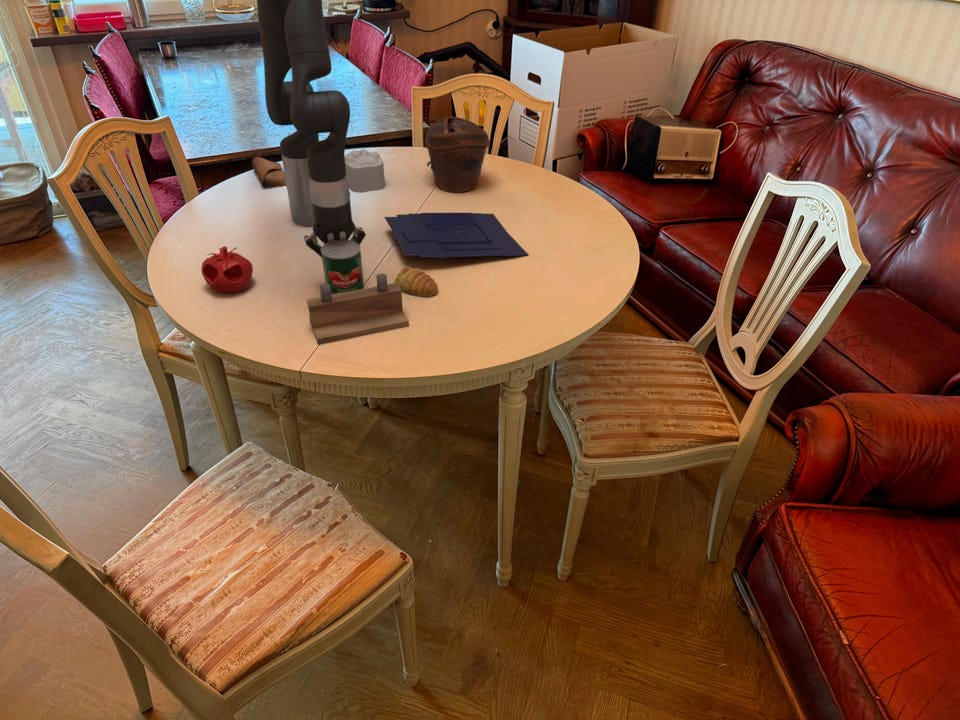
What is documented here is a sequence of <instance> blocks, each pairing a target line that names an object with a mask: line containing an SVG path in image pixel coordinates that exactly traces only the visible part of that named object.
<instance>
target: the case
mask: <svg viewBox="0 0 960 720" xmlns="http://www.w3.org/2000/svg"><path fill="white" fill-rule="evenodd" d="M490 144H491V143H490V139H489V134H488V133H487V131H485V130H484V129H482V127H481V126H479V125H478V124H476V123H474V122H473V121H470V120H468V119H465V118H463V117H459V116H446V117H442V118H440V119H437V120H436V121H435V122H433V123H431V125H430V126H429V128H428V129H427V132H426V134H425V138H424V146H425V149H427V150H428V151H427V152H428V155H429V161H427V163H426V166H427V167H428V168H429V166H430V170H431V171H432V174H433V180H434V184H435V185H436V186H437V187H438V189H440V190H443V191H446V192H451V193H461V192H468V191H472V190H474V189H475V188H476V187H478V185H479V180H480V176H481V172H482V168H483V165H484V159H485V155H486V151H487V148H488V149H490V146H491V145H490Z"/></svg>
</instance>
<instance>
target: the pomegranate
mask: <svg viewBox="0 0 960 720" xmlns="http://www.w3.org/2000/svg"><path fill="white" fill-rule="evenodd" d="M238 247H239V246H237V247H234V248H233V249H232V250H230V251H229V250H228V247H227V246H222V247H218V249H219V253H214V252H212V253H209V254H208V256H210V255H211V256H210V257H207V258H206V259H204V260H203V261H202V263H201V271H200V272H201V274H202V277H203V279H204V280H205V282H206V283H207V286H209V288H210V289H211V290H212V291H215V292H216V293H220V294H221V293H222V294H234V293H239V292H241V291H244V290H245V289H246V288H248V287H249V286H250V284H251V283H250V282H251V280H252V279H253V273H254V272H253V271H254V267H253V263H252V262H251V261H250V260H249V259H248V258H246V257H244V256H243V255H241V254H239V253H237V252H234V250H236V249H237V248H238Z"/></svg>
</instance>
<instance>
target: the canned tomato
mask: <svg viewBox="0 0 960 720" xmlns="http://www.w3.org/2000/svg"><path fill="white" fill-rule="evenodd" d="M350 240H351V239H348V240H346V242H343V241H342V242H339V240H336V241H334V242H335V243H333V244H332V243H331V244H329V243H326V244H324V243H323V245H321V247H322V248H321V254H322V257H321V261H322V267H323V274H324V280H325V283H327V284H330V287H331V295H332V294H337V293H343V292H348V291H354V290H359V289H365V284H364V270H363V262H362V251H361V249H362V248H361V244H360V245H359V244H357V243H356V242H354V241H350Z"/></svg>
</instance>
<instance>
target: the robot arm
mask: <svg viewBox="0 0 960 720" xmlns="http://www.w3.org/2000/svg"><path fill="white" fill-rule="evenodd" d="M256 6H257V20H258V29H259V36H260V41H261V48H262V57H263V67H264V70H263V71H264V95H265V97H264V98H265V106H266V110H267V115H268V118H269V119H270V120H271V122H272V124H273V125H277V126H282V127H283V126H294V129H296V131H294V132H293V133H291V134H289V135H287V136H285V137H283V138H282V140H280V143H279V149H280V154H281V161H282V166H283V167H282V168H283V171H284V173H285V179H286V186H285V187H286V191H287V198H288V203H289V210H290V215H291V221H292V222H293V224H295V225H297V226H301V227H312V232H311V233H310V234H309V235H307V234H306V235H305V236H303V237H304V238H303V239H304V240H303V241H304V243H305V244H306V246H307V247H308V248H310V249H311V250H312V251H313V252H314V253H315V254H317V255H318V256H319V257H320V258H322V254H321V248H322V245H320V244H319V243H318V239H319V240H320V241H321V243H323V245H324V244H326V243H329V244H331V243H332V244H333V243H335V242H334V241H336V240H339V242H342V241H343V242H346V240H350V241H354V242H356V243H357V244H359V245H360V246H361V243H362V242H363V240H364V239H365V238H366V236H367V234H366V232H365V229H364V228H362V227H358V226H356V224H355V222H354V221H353V218H352V206H351V192H350V189H349V185H348V181H347V176H346V167H345V155H346V154H345V152H346V151H345V150H346V141H347V135H348V130H349V124H350V120H351V119H350V118H351V108H350V103H349V101H348V99H347V97H346V95H345V94H344V93H342V92H341V91H340V90H334V89H333V90H332V89H331V90H320V91H319V90H318V91H315V90H314V87H313V85H312V84H311V82H313V81H315V80H319V79H322V78H326V77H327V76H329V75H330V74H331V72H332V69H333V68H332V67H333V66H332V59H331V56H330V55H331V54H330V49H329V44H328V36H327V31H326V26H325V19H324V9H323V0H256ZM290 70H291V80H289V81H288V80H287V81H285V79H286V78H287V77H286V76H287V74H288V73H289V72H290ZM325 133H327V134H328V136H327V137H326V138H324V139H322V140H320V137H319V134H325ZM350 237H351V238H350Z"/></svg>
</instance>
